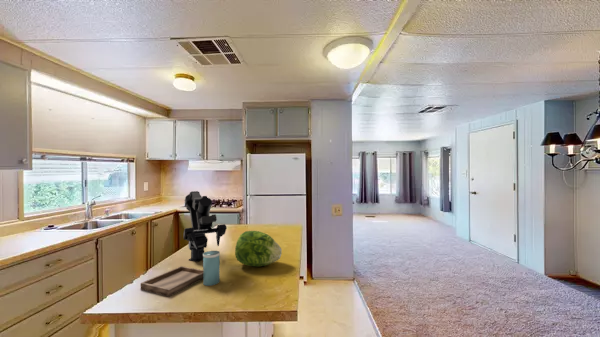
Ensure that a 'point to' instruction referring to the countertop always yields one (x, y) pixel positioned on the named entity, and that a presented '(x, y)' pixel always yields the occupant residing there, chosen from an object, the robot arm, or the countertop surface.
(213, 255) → the cup
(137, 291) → the countertop surface
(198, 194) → the robot arm
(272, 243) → the lettuce
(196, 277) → the tray
